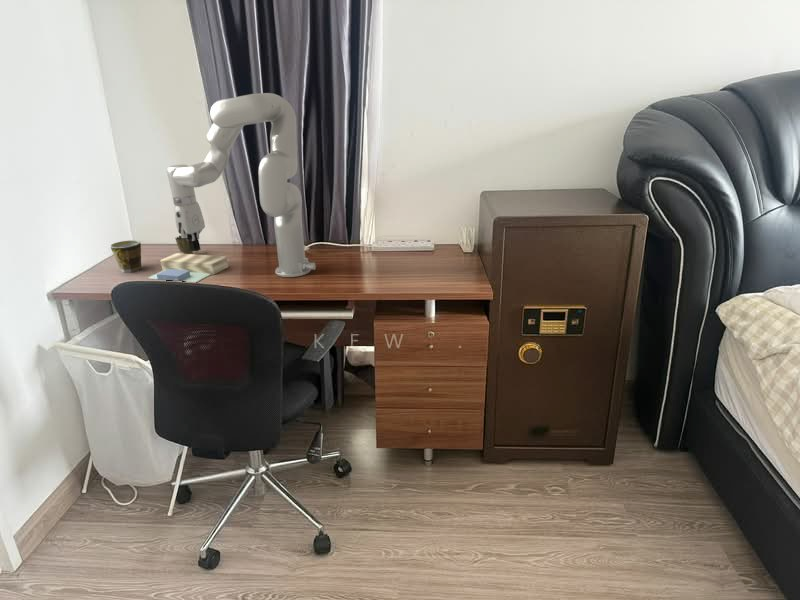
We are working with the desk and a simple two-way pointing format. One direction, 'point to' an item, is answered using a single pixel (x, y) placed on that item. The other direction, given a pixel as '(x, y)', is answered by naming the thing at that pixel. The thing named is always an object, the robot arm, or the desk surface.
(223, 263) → the block
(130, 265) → the ceramic cup
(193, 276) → the mat
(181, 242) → the cup
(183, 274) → the blue rectangular block
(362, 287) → the desk surface
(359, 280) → the desk surface
